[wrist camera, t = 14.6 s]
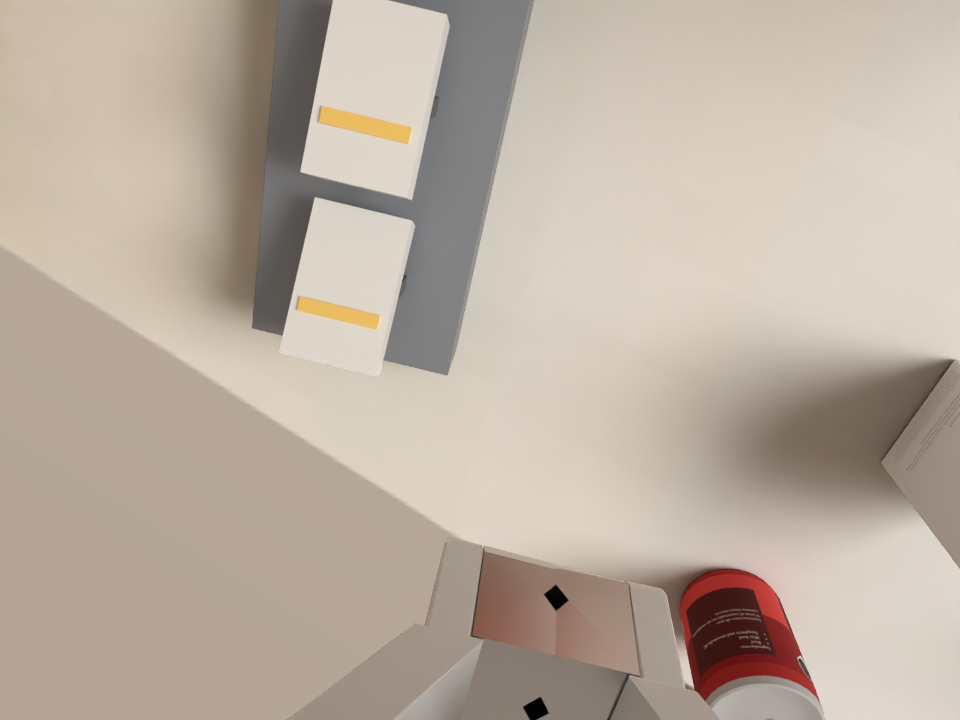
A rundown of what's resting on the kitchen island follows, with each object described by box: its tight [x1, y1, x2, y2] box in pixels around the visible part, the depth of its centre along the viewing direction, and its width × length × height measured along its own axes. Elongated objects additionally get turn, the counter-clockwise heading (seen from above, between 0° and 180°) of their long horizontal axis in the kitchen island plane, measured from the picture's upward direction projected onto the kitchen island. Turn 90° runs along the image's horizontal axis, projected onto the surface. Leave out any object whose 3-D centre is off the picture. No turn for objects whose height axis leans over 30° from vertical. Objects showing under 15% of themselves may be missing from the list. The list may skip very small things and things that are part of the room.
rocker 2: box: [279, 197, 415, 376], centre depth 40 cm, size 9×6×2 cm, turn 167°
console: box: [252, 0, 534, 375], centre depth 40 cm, size 32×13×6 cm, turn 168°
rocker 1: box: [300, 0, 450, 200], centre depth 36 cm, size 9×6×2 cm, turn 167°
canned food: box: [680, 569, 825, 720], centre depth 51 cm, size 8×8×11 cm
